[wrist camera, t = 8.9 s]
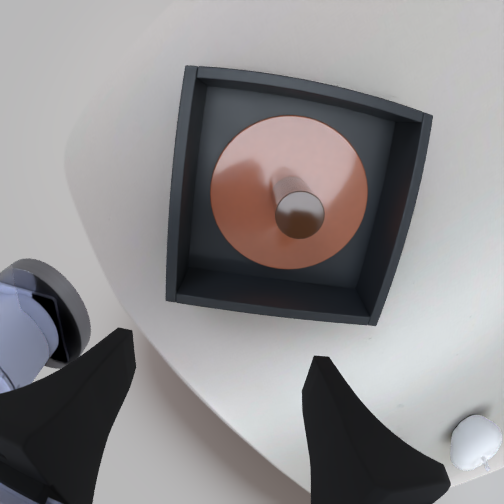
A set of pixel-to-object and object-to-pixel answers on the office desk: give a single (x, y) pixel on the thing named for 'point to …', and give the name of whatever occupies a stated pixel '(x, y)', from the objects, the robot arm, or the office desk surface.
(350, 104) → the charcoal square tray
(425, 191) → the office desk surface
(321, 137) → the knobbed copper disc
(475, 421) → the plain white apple
